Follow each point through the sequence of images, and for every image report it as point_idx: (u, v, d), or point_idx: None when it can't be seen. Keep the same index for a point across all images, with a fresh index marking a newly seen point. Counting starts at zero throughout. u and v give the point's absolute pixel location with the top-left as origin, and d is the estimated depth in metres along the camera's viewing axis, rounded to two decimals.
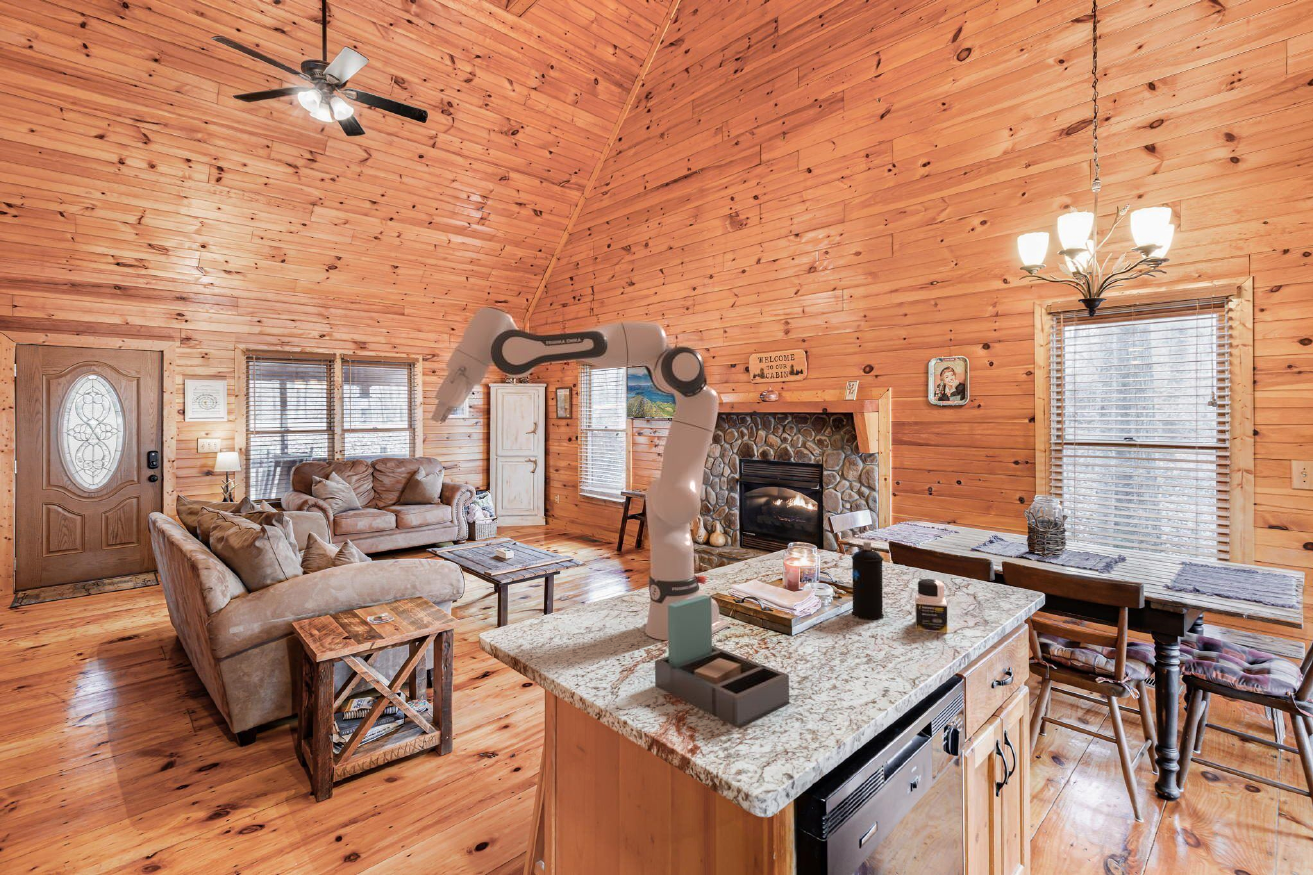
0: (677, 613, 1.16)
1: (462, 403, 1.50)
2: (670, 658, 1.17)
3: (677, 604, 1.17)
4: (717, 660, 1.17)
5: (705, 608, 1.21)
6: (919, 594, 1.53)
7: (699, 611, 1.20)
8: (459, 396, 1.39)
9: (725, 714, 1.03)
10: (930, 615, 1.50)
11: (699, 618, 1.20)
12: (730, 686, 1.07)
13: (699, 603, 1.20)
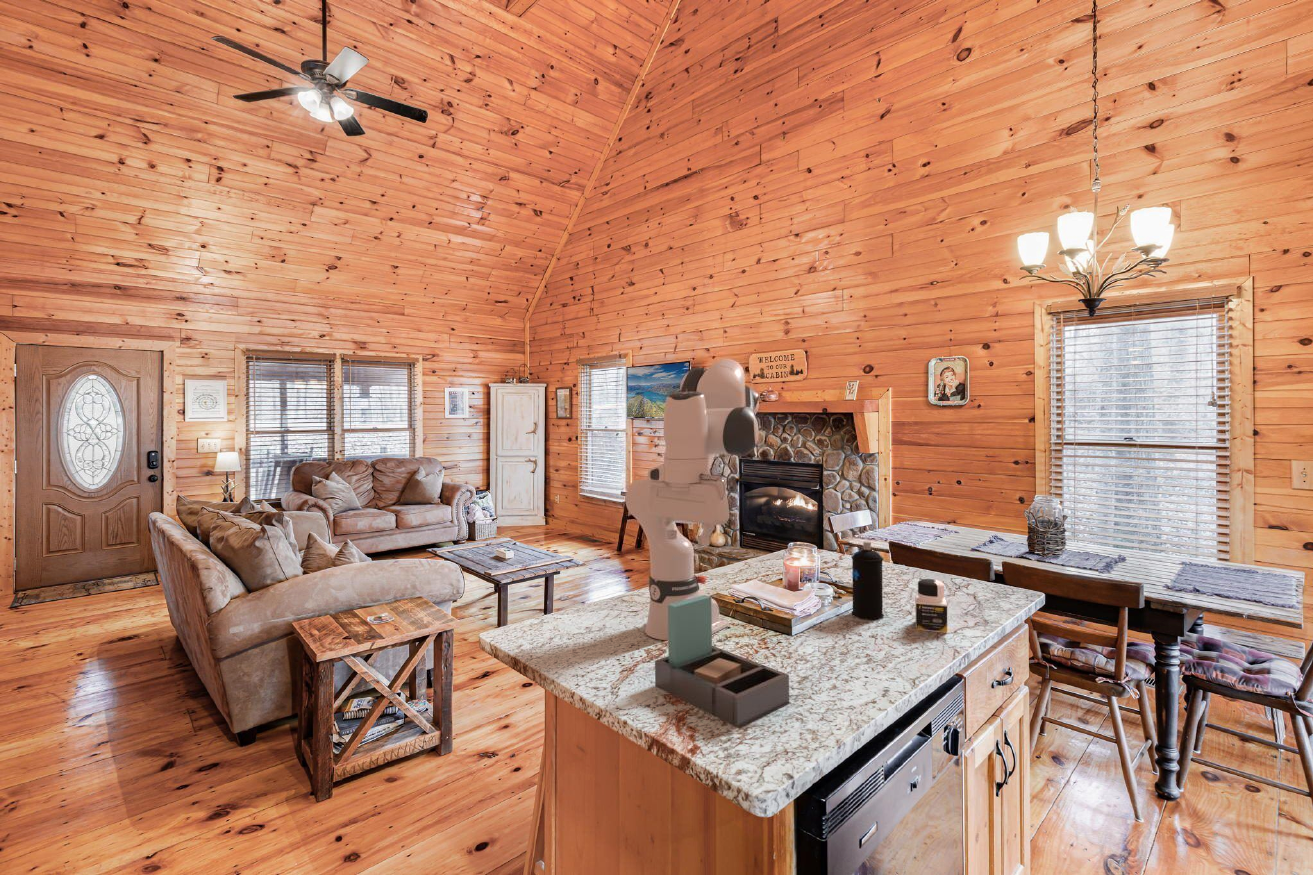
0: (677, 613, 1.16)
1: None
2: (670, 658, 1.17)
3: (677, 604, 1.17)
4: (717, 660, 1.17)
5: (705, 608, 1.21)
6: (919, 594, 1.53)
7: (699, 611, 1.20)
8: None
9: (725, 714, 1.03)
10: (930, 615, 1.50)
11: (699, 618, 1.20)
12: (730, 686, 1.07)
13: (699, 603, 1.20)
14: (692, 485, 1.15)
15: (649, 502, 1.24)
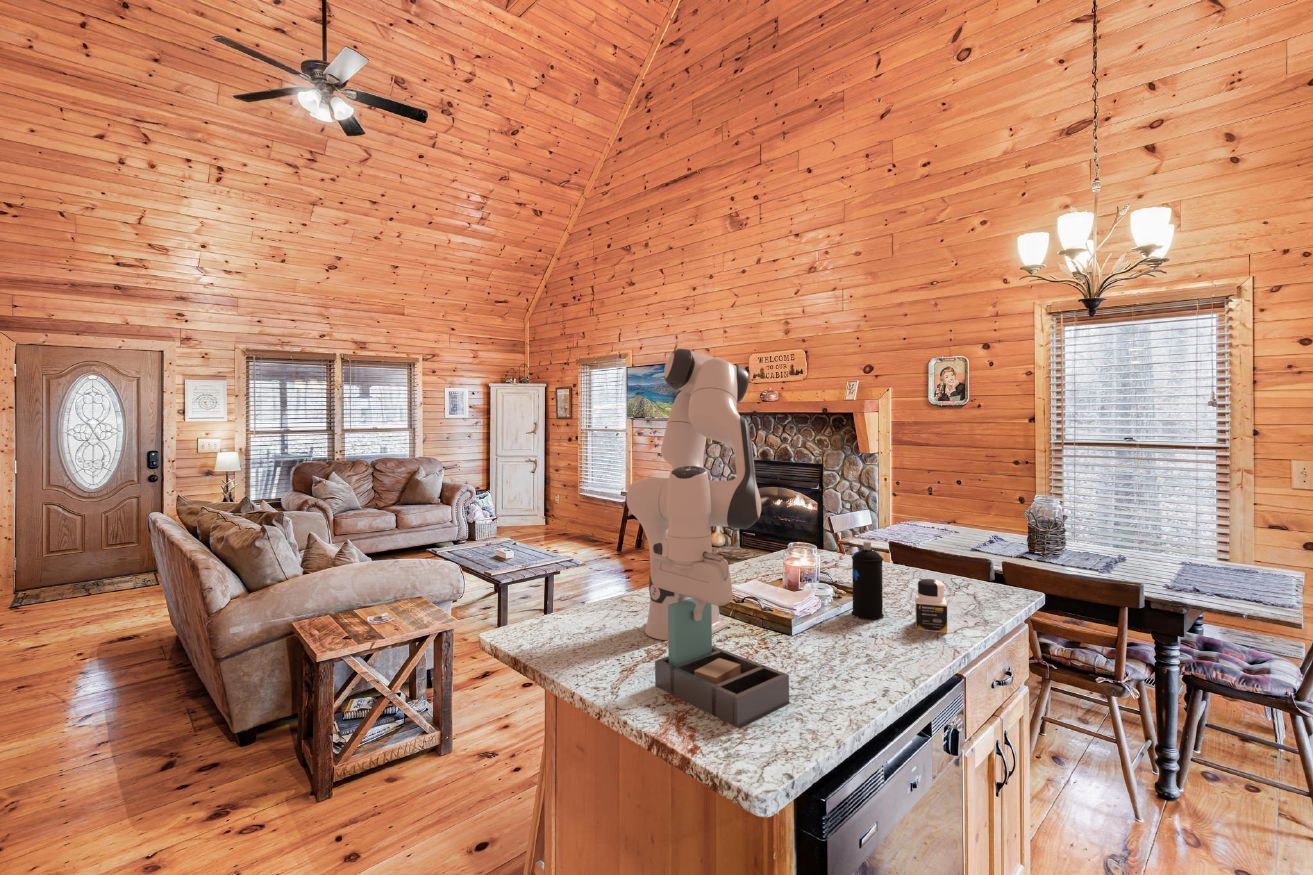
0: (677, 613, 1.16)
1: None
2: (670, 658, 1.17)
3: (677, 604, 1.17)
4: (717, 660, 1.17)
5: (705, 608, 1.21)
6: (919, 594, 1.53)
7: None
8: None
9: (725, 714, 1.03)
10: (930, 615, 1.50)
11: None
12: (730, 686, 1.07)
13: None
14: (695, 563, 1.15)
15: (652, 574, 1.25)
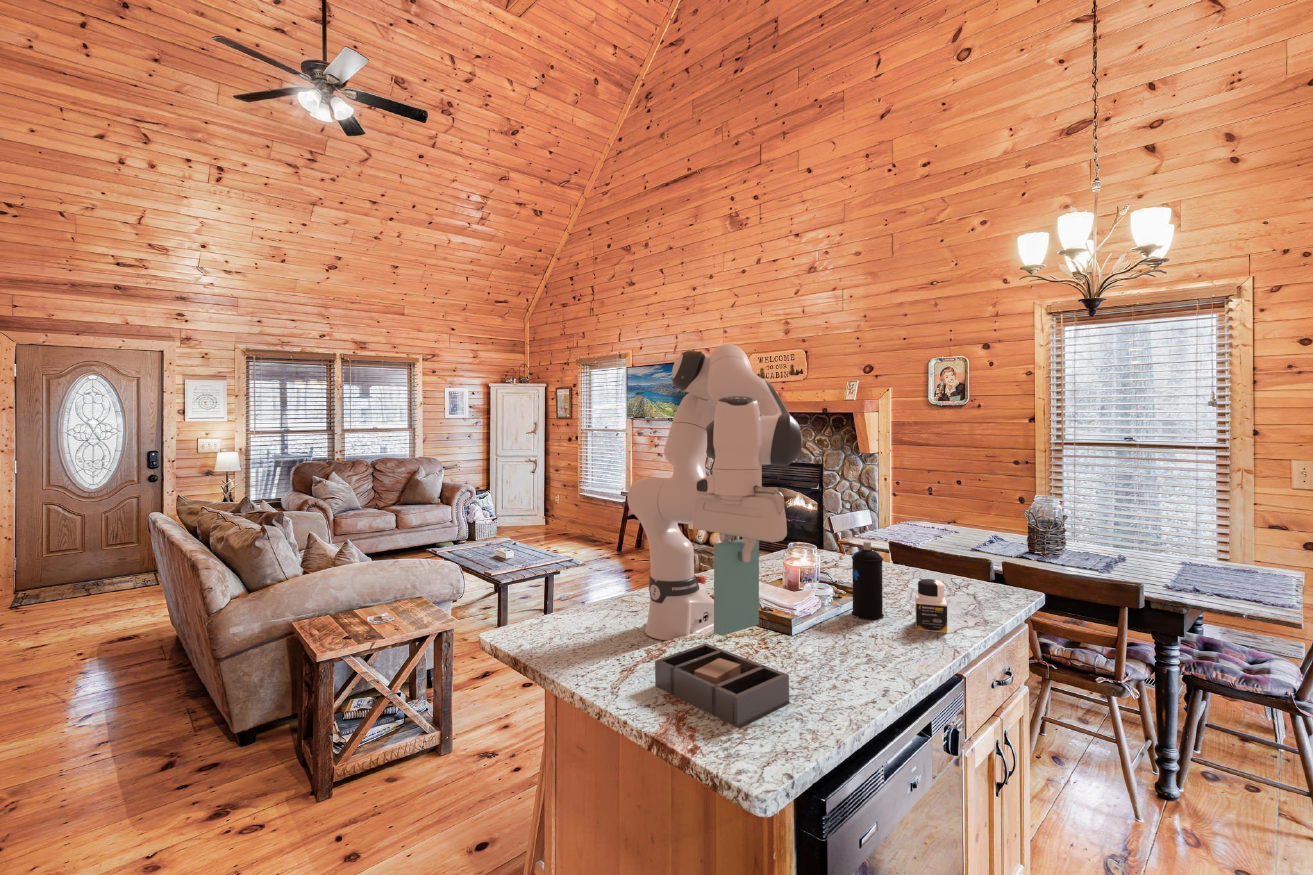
0: (725, 553, 1.06)
1: None
2: (716, 602, 1.07)
3: (724, 543, 1.07)
4: (717, 660, 1.17)
5: (752, 550, 1.11)
6: (919, 594, 1.53)
7: None
8: None
9: (725, 714, 1.03)
10: (930, 615, 1.50)
11: None
12: (730, 686, 1.07)
13: None
14: (746, 498, 1.06)
15: (694, 515, 1.15)
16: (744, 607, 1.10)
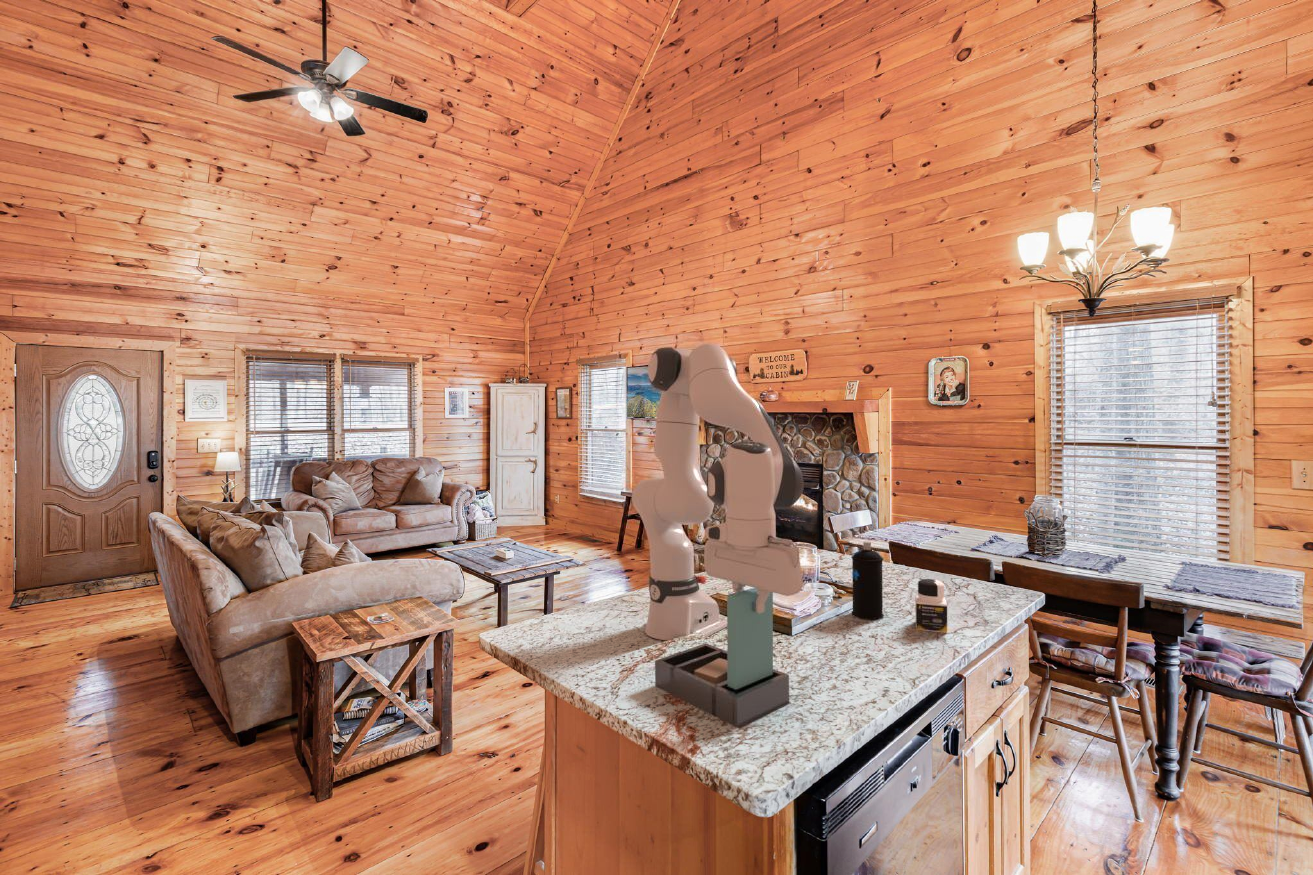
0: (738, 605, 1.04)
1: None
2: (729, 655, 1.04)
3: (737, 594, 1.05)
4: (717, 660, 1.17)
5: None
6: (919, 594, 1.53)
7: None
8: None
9: (725, 714, 1.03)
10: (930, 615, 1.50)
11: None
12: None
13: None
14: (759, 549, 1.03)
15: (706, 562, 1.13)
16: (758, 658, 1.07)
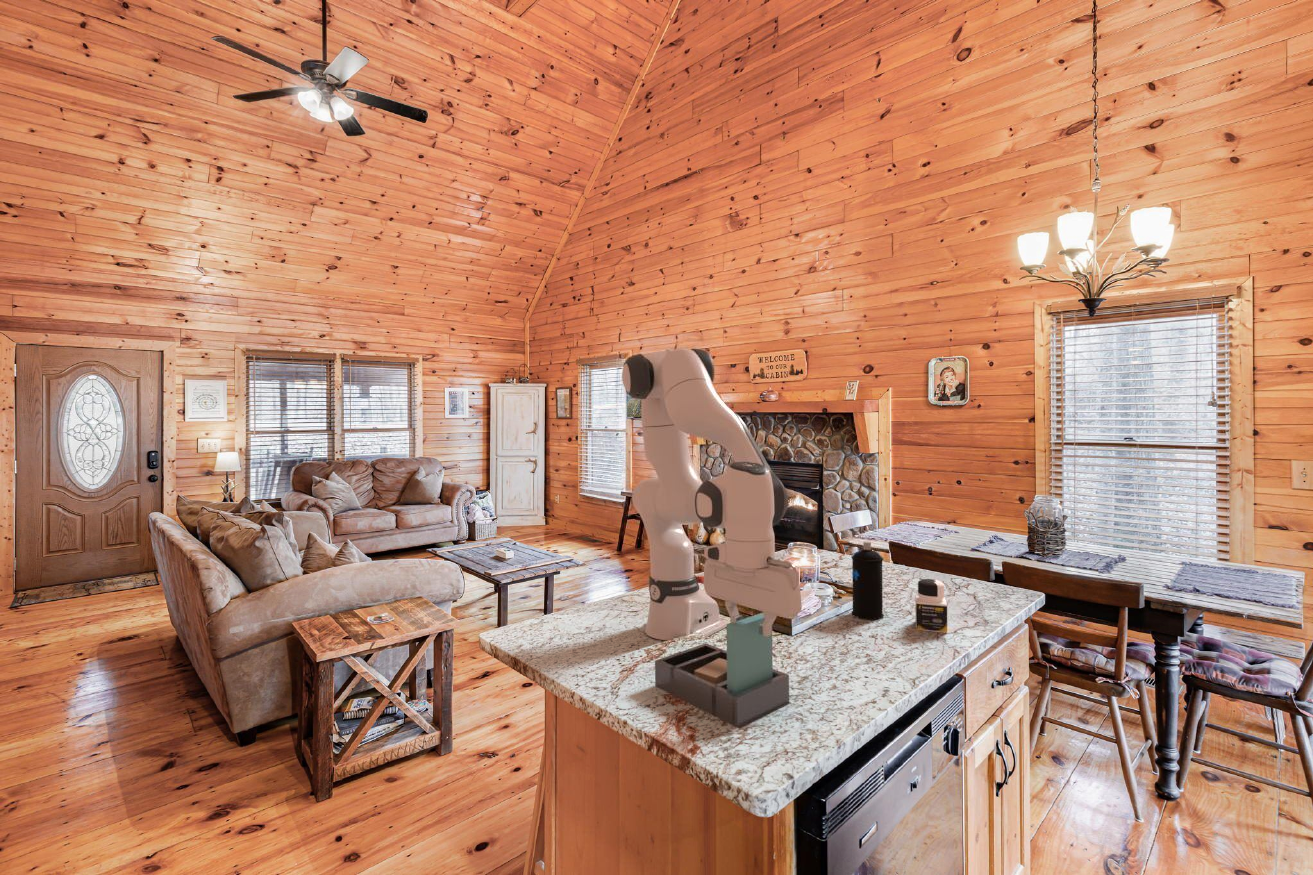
0: (738, 634, 1.04)
1: None
2: (729, 684, 1.05)
3: (737, 624, 1.05)
4: (717, 660, 1.17)
5: None
6: (919, 594, 1.53)
7: None
8: None
9: (725, 714, 1.03)
10: (930, 615, 1.50)
11: (760, 639, 1.08)
12: None
13: (759, 623, 1.07)
14: (759, 570, 1.03)
15: (705, 581, 1.13)
16: None
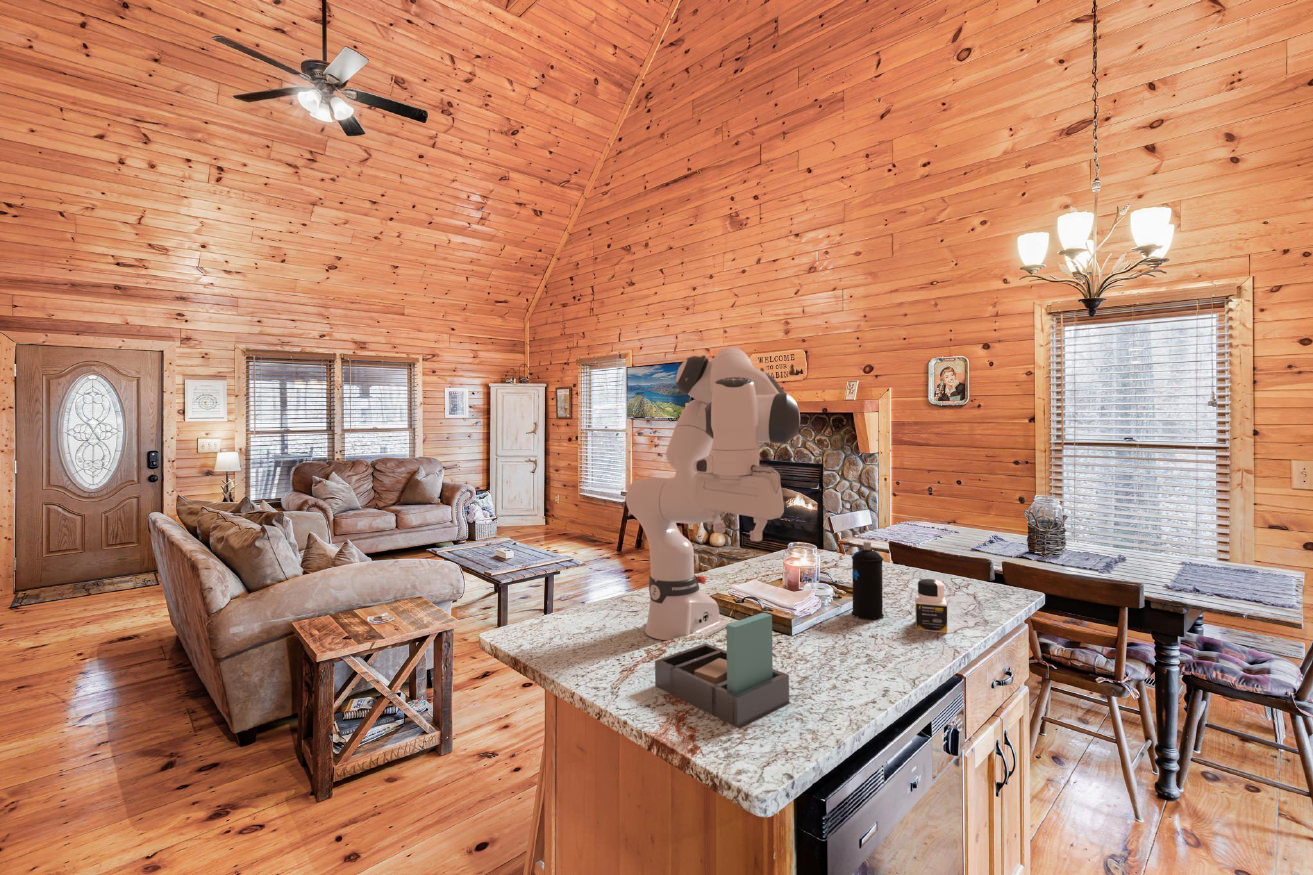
0: (738, 634, 1.04)
1: None
2: (729, 684, 1.05)
3: (737, 624, 1.05)
4: (717, 660, 1.17)
5: (765, 627, 1.09)
6: (919, 594, 1.53)
7: (759, 631, 1.08)
8: None
9: (725, 714, 1.03)
10: (930, 615, 1.50)
11: (760, 639, 1.08)
12: None
13: (759, 623, 1.07)
14: (743, 477, 1.09)
15: (695, 494, 1.19)
16: None
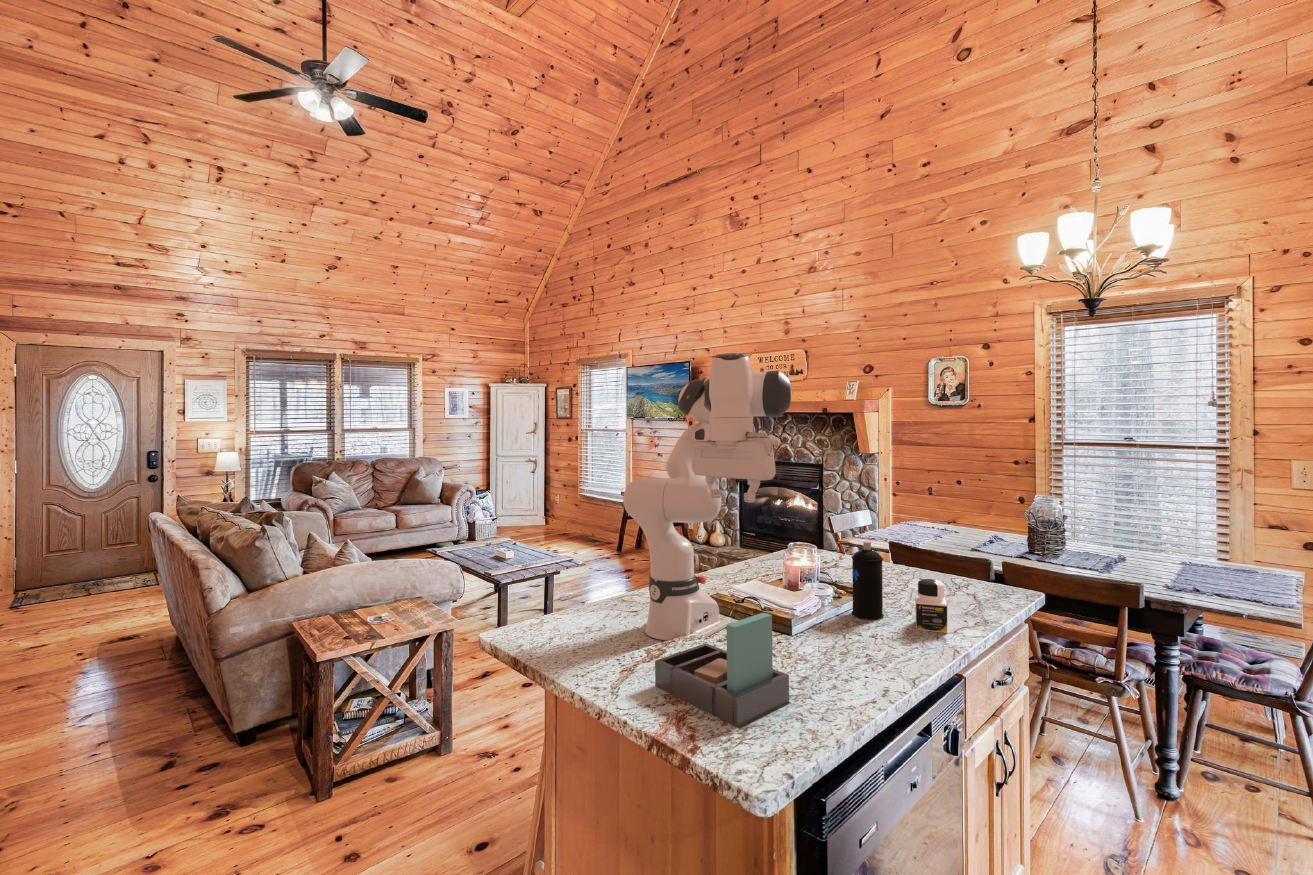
0: (738, 634, 1.04)
1: None
2: (729, 684, 1.05)
3: (737, 624, 1.05)
4: (717, 660, 1.17)
5: (765, 627, 1.09)
6: (919, 594, 1.53)
7: (759, 631, 1.08)
8: None
9: (725, 714, 1.03)
10: (930, 615, 1.50)
11: (760, 639, 1.08)
12: None
13: (759, 623, 1.07)
14: (738, 443, 1.18)
15: (693, 463, 1.28)
16: None
